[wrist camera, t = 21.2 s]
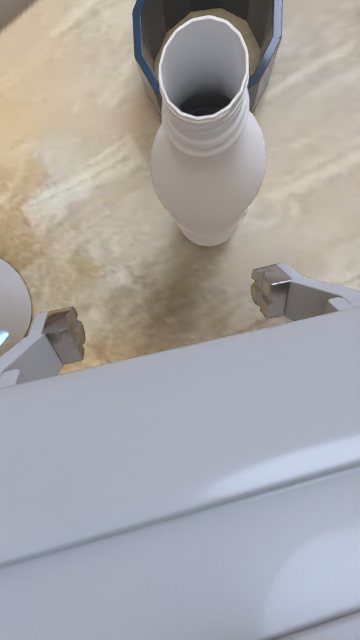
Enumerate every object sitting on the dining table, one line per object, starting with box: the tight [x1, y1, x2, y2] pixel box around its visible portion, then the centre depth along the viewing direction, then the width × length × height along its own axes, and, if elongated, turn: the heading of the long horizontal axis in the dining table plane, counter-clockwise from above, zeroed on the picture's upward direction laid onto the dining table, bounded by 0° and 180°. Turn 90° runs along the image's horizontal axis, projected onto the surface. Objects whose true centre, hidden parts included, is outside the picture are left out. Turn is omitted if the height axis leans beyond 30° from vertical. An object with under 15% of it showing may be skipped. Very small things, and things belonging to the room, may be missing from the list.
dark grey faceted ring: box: [132, 0, 283, 119], centre depth 27 cm, size 14×14×6 cm
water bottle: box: [151, 15, 266, 246], centre depth 21 cm, size 7×7×25 cm
